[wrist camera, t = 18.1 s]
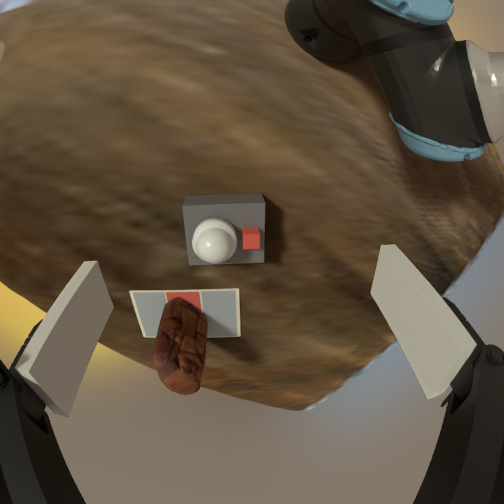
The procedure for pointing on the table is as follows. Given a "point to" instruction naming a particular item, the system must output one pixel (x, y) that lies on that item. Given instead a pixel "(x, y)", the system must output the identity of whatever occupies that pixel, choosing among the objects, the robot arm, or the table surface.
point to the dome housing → (238, 214)
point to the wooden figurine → (181, 346)
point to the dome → (214, 240)
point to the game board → (205, 301)
